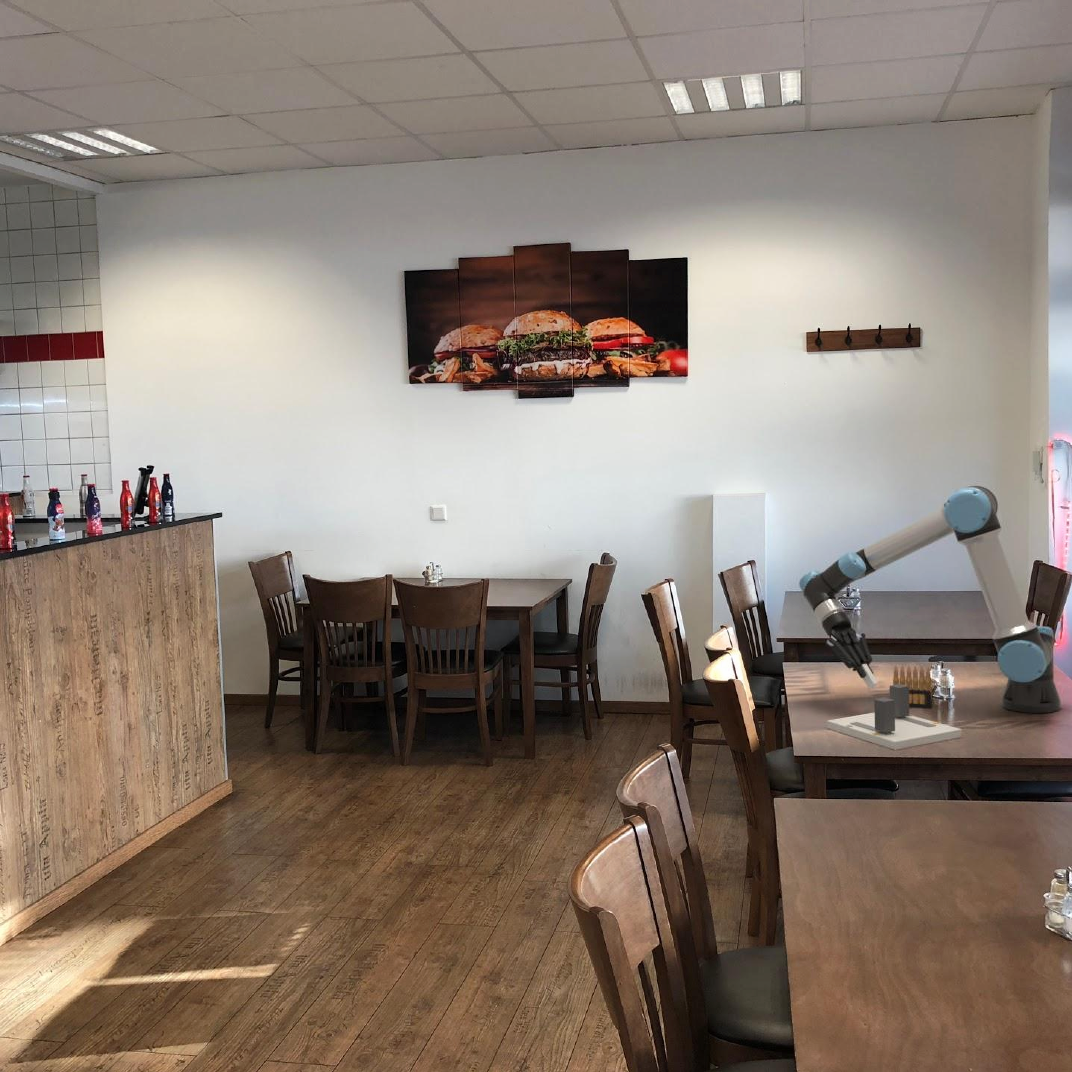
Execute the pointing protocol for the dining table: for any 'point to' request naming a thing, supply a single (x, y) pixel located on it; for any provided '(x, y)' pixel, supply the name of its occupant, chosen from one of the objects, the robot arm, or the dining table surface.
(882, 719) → the block
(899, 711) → the block
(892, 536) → the robot arm
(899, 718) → the switch panel
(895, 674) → the ammunition clip
